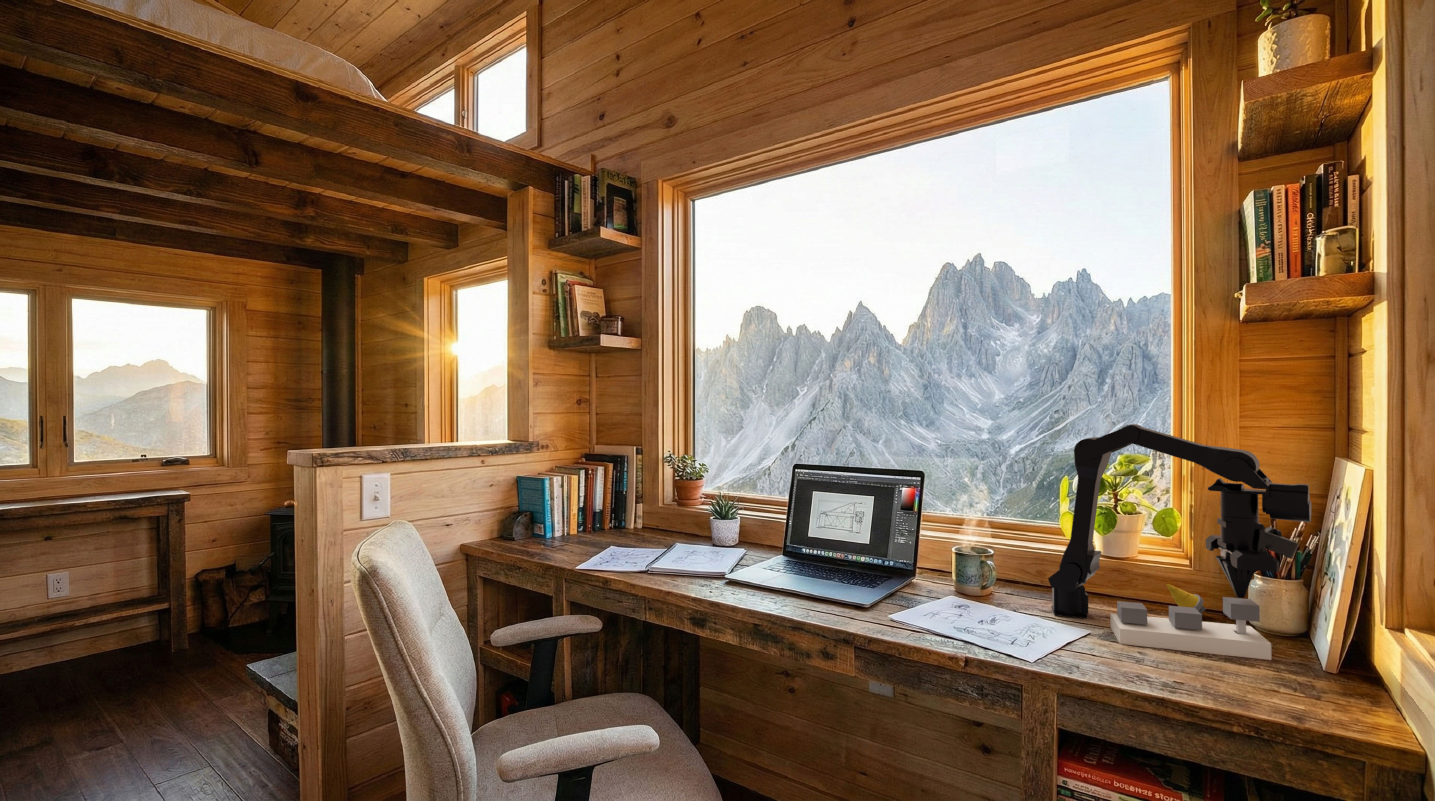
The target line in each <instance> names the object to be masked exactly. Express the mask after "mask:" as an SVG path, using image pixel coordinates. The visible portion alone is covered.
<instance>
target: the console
mask: <svg viewBox="0 0 1435 801" xmlns="http://www.w3.org/2000/svg"><path fill="white" fill-rule="evenodd" d="M1109 614H1110V617H1109V618H1110V629H1111V630H1112V632H1113V634H1114V635H1115V637H1116V639H1117V641H1118V643H1119V644H1120V645H1128V646H1129V645H1130V646H1136V647H1137V646H1138V647H1148V648H1156V649H1158V648H1159V649H1166V650H1176V651H1184V652H1193V653H1201V654H1211V655H1220V656H1221V655H1222V656H1231V657H1239V658H1240V657H1241V658H1247V659H1248V658H1249V659H1259V660H1269V661H1272V643H1271V642H1270V641H1269V640H1268V639H1266V638H1265V637H1264V636H1263V635H1262V634H1261V633H1259V632H1258V631H1257V630H1256V629H1254V628H1253V627H1252V626H1251V625H1246V634H1241V633H1238V632H1236V624H1233V623H1232V624H1231V623H1224V622H1223V623H1221V622H1211V621H1202V630H1195V629H1183V628H1175V627H1174V626H1173V625H1172V623H1171V622H1170V621H1169V617H1157V616H1148V615H1147V625H1143V624H1131V623H1122V622H1121V621H1120V619H1119V617H1118V616H1117V613H1113V612H1110V613H1109Z"/></svg>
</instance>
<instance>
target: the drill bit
mask: <svg viewBox="0 0 1435 801" xmlns="http://www.w3.org/2000/svg"><path fill="white" fill-rule="evenodd" d="M1165 585H1166V587H1167V589H1168V591H1169V592H1170V595H1171V596H1172V598H1173V600H1174V602H1175V603H1176V605H1177V606H1179V607H1191V608H1196V609H1197V610H1198V611H1199V612H1200V613H1201V614H1202V617H1203V616H1204V615H1203V613H1204V612H1205V611H1206V610H1207V608H1206V607H1205V606H1204V603H1205V602H1204V599H1203V597H1201V596H1200V595H1199V594H1196V593H1193V594H1192V593H1190V592H1188V591H1185V590H1184V589H1181V588H1178V587H1176V586H1174V585H1171V584H1169V583H1165Z"/></svg>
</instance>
